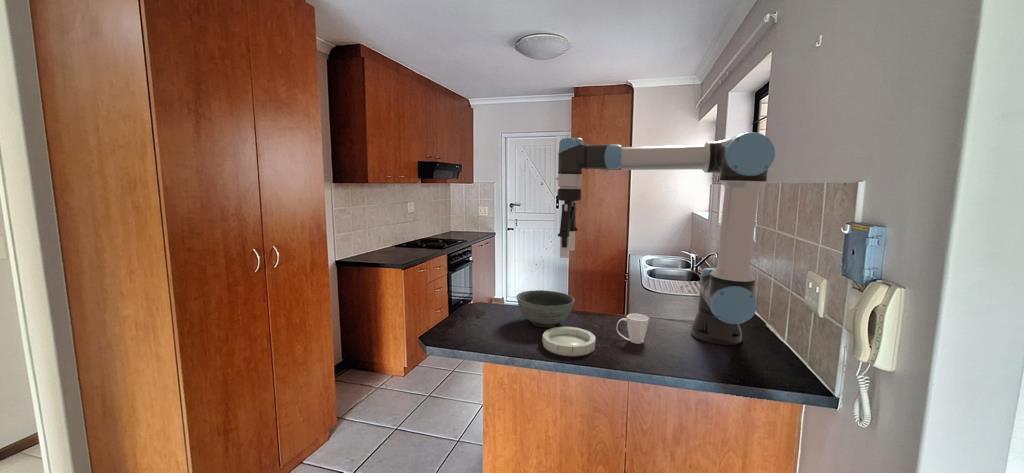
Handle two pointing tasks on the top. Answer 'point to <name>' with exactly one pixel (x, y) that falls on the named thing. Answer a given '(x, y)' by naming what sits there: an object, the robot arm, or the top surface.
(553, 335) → the tray
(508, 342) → the top surface
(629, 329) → the cup
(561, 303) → the bowl
